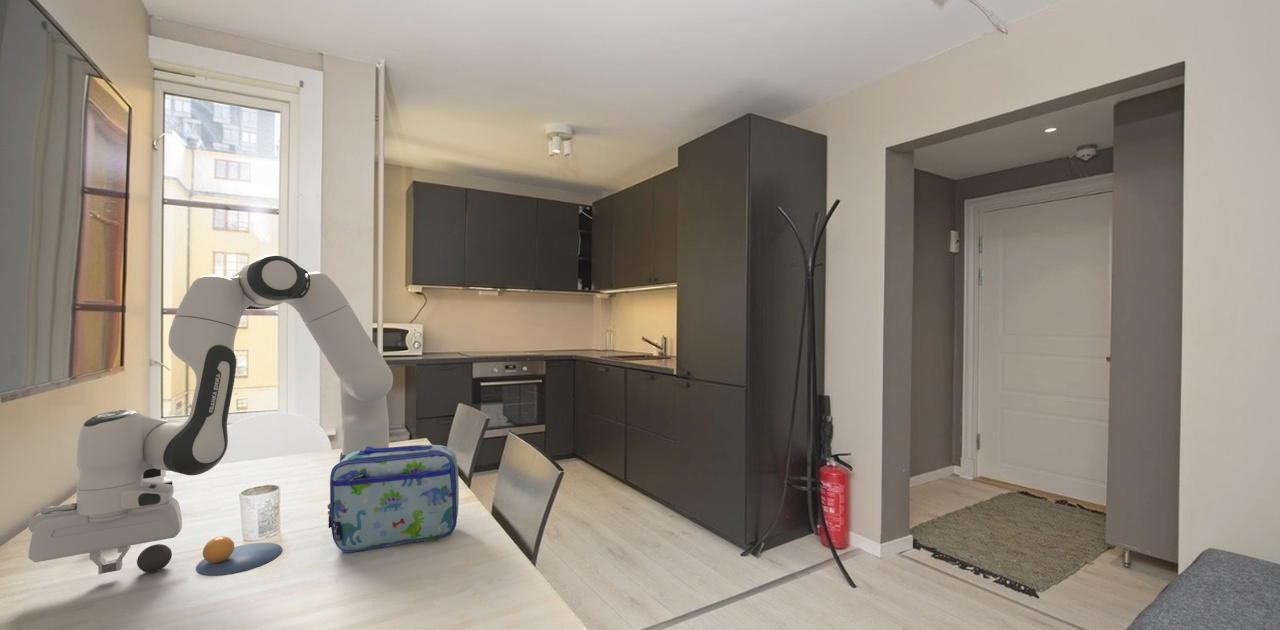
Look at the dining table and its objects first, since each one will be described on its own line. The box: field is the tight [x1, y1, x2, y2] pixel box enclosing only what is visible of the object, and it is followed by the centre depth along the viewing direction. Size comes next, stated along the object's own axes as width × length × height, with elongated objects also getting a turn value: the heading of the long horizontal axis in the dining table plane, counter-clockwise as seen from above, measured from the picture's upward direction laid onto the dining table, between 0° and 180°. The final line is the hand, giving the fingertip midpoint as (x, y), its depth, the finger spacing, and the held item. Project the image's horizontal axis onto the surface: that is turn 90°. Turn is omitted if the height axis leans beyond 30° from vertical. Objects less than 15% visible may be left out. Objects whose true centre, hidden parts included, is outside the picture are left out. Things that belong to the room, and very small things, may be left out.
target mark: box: [195, 542, 283, 576], centre depth 107 cm, size 14×14×1 cm
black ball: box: [136, 543, 173, 573], centre depth 102 cm, size 5×5×5 cm
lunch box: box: [327, 444, 460, 553], centre depth 116 cm, size 26×11×21 cm, turn 107°
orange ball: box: [202, 535, 235, 563], centre depth 105 cm, size 5×5×5 cm
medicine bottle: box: [143, 468, 173, 485], centre depth 134 cm, size 7×7×12 cm
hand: (110, 571), depth 98 cm, fingers closed
